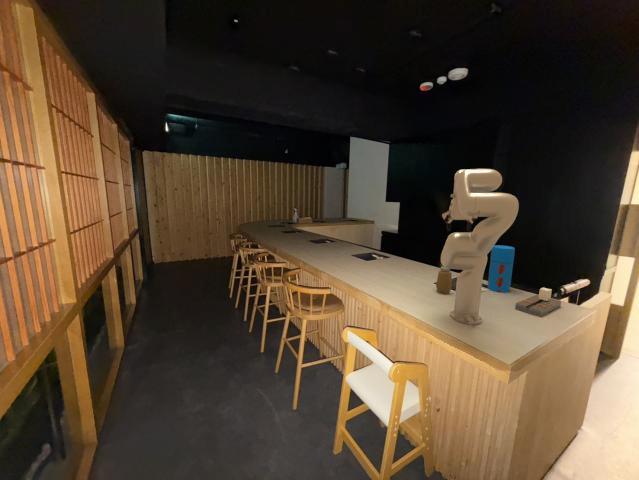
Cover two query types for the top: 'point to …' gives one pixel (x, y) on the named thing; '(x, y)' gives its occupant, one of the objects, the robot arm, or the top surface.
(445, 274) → the squeeze bottle
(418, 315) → the top surface
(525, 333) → the top surface
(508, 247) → the thermos
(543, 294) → the fader
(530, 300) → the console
